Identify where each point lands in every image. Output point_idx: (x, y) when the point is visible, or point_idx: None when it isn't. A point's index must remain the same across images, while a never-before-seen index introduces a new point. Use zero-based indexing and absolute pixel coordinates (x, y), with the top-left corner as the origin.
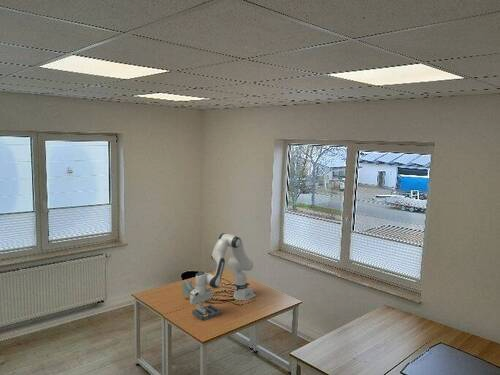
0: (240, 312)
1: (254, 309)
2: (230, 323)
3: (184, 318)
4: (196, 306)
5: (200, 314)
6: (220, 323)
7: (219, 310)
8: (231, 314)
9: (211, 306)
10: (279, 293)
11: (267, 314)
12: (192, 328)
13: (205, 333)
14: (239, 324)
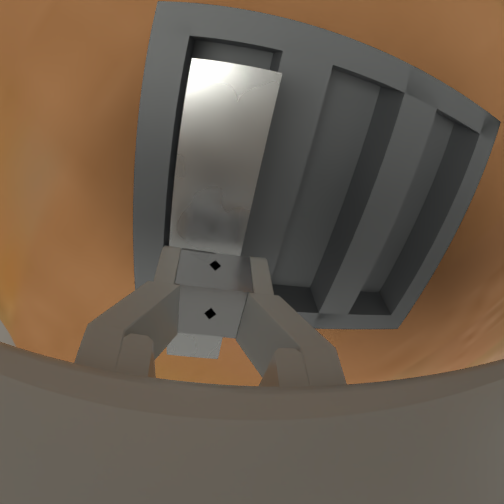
0: (452, 339)
1: (489, 346)
2: None
3: (16, 73)
4: (192, 74)
5: (155, 242)
6: (243, 379)
7: (402, 311)
8: (414, 333)
9: (467, 167)
10: None
11: None
12: (17, 304)
13: None
14: None
